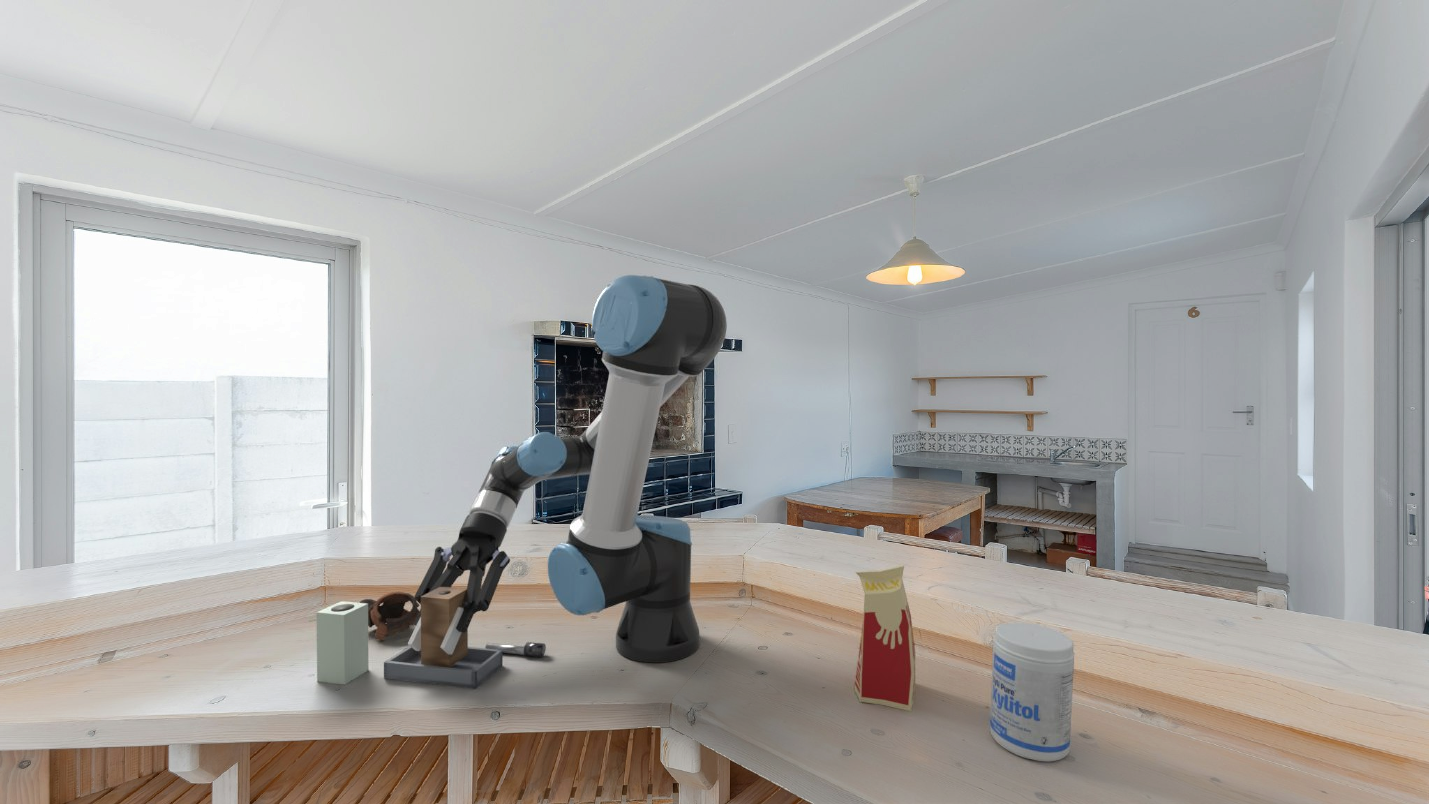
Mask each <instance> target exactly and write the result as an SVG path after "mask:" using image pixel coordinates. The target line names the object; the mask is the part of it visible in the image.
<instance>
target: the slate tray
mask: <svg viewBox="0 0 1429 804" xmlns="http://www.w3.org/2000/svg"><path fill="white" fill-rule="evenodd" d="M503 654H504V653H503V650H496V649H486V648H485V647H475V646H468V654H467V655H466V656H465V657H463V658H462V659H461V660H459V661H458V662H457V663H455V664H454V665H452V666H451V667H450V668H449V667H440V666H431V665H422V664H421V650H420V651H415V650H414V649H413V648H412V647H411V646H409V645H408V646H407V647H406V648H404V649H403V650H401V651H400V652H398V653H397V654H395V655H393V656H391V657H390V658H389V659H387V660H385V661H384V662H383V679H385V680H386V679H387V680H394V681H395V680H396V681H403V682H413V683H420V684H421V683H422V684H428V685H429V684H430V685H439V686H447V687H453V688H454V687H456V688H463V689H465V688H466V689H471V690H472V689H473V690H475V689H476V688H478V687H479V686H480V685H482V684H483V683H484V682H485V681H486V680H487V679H489V678H490V677H491V676H492V675H493V674H494V673H496V672H497V671H498V670H499V669H500V668H502V667H503V664H504V663H503Z"/></svg>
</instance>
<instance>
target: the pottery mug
mask: <svg viewBox="0 0 1429 804" xmlns="http://www.w3.org/2000/svg"><path fill="white" fill-rule="evenodd" d="M408 602H410V603H411V605H412V606H411V610H410V611H409V610H408V609H406V608H405V606H406V603H408ZM358 603H366V604H368V628H373V626H375V627H376V630H375V633H374V638H375V639H376V640H378V641H381V642H383V641H384V640H385V638H386V637H390V636H392V635H396V634H397V633H400V632H403V631H405V630H408V629H409V628H410V626H412V625H414V621H415V619H416V617H417V615H418V613H419V611H420V609H419V607H421V604H420V603H419V602H418V601H416V600H415V598H414V595H412V594H411V593H407V592H403V591H395V592H394V591H392V592H389V593H386V594H384V595H382V596H380V597H378V599H377V600H374V599H372V598H365V599H363V600H360V601H359V602H358Z"/></svg>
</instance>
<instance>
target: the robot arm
mask: <svg viewBox="0 0 1429 804" xmlns="http://www.w3.org/2000/svg"><path fill="white" fill-rule="evenodd" d="M594 305H595V306H594V308H593V312H592V316H591V330H592V332H593V333H594V335H593V338H594V341H595V343H596V345H597V346H598V347H599V348H600V350H601V351H602V356H601V361H602V363H603V364H604V366H605V367H606V368H607V369H606V370H608V373H609V374H608V380H607V384H606V388H605V389H606V390H605V394H604V401H603V405H602V410H601V412H600V413H598V415H597V416H596V417H595V419H594V420H593V421H592V422H591V423H590V424H589V425H588V427H587V428H586V429H585V430H584V431H583V432H582V433H581V434H580V435H578V436H569V437H559V436H558V435H556V434H554V433H551V432H549V431H542V432H538V433H536V434H534V435H532V436H530V437H529V438H526V439H525V440H524V441H523V442H522V443H521V444H519V445H518V446H517V445H511V446H504V447H502V448H501V449H500V450H499V451H498V452H497V454H496V456H495V457H494V458H493V460H492V462H491V464H490V468H489V469H488V472H487V474H486V476H485V478H484V480H483V482H482V485H480V489H479V491H478V493H477V495H476V496H475V499H474V500H473V502H472V505H471V507H470V508H469V510H468V515H467V516H466V517H465V519H464V521H463V523H462V525H461V527H460V530H459V534H458V537H457V540H455V542H454V543H453V544H452V545H451V547H447V548H443V547H442V546H437V547H436V548H435V549H434V556H433V559H432V562H431V564H430V565H429V567H428V569H427V572H425V573H426V574H425V575H424V577H423V579H422V581H421V583H420V585H419V587H418V588H417V591H416V593H415V594H414V595H413V597H414V598H415V600H416V601H417V603H418V604H419V605H421V596H423V595H425V594H427V593H429V592H431V591H433V590H435V589H437V588H439V587H452V586H453V584H454V583H455V582H456V580H457V579H458V578H459V577H461V576H462V575H463V574H464V572H465V571H469V576H468V582H467V586H466V589H467V591H466V596H465V601H464V604H463V603H462V605H463V606H464V607H465V608H464V609H463V608H461V607H458V609H457V611H456V613H455V615H454V618H453V620H452V622H451V624H450V627H449V629H448V631H447V633H446V635H445V638H444V640H443V642H442V644H441V647H440V648H442V649H443V650H444V651H445V652H446V653H447V654H451V655H452V654H453V652H454V649H455V647H456V644H457V642H458V640H459V637H460V635H461V633H462V632H466V630H467V629H468V628H469V627H470V624H471V622H472V619H473V617H474V615H475V614H476V613H477V612H483V613H484V612H486V611H487V610H488V609H489V607H490V605H491V602H492V600H493V597H494V595H495V592H496V590H497V587H498V584H499V582H500V580H501V577H502V574H503V572H504V570H505V569H506V568H507V566H508V565H509V564H510V563H511V558H510V557H509V556H508V554H507V553H506V552H505V550H501V551H499V549H500V547H501V545H502V543H503V541H504V539H505V537H506V534H507V532H508V529H507V528H509V527H510V524H511V522H512V521H513V517H514V514H515V512H516V510H517V508H518V505H519V503H520V501H521V499H522V496H523V494H524V492H525V491H526V490H528V489H530V488H532V487H533V486H535V485H536V484H537V483H539V482H542V481H545V480H553V479H560V478H567V477H574V476H575V477H576V476H582V475H589V477H588V482H587V488H586V494H585V499H584V502H583V503H584V505H583V509H582V510H583V511H582V514H581V515H579V516H577V517H576V518H574V519H573V520H572V521H571V523H570V525H569V531H568V537H567V540H566V542H559V543H558V544H557V545H555V547H553V548H552V549H551V550H550V552H549V554H548V559H547V575H548V580H549V584H550V587H551V589H552V591H553V595H554V596H555V598H556V600H557V601H558V602H559V604H560V605H561V606H562V607H563V608H564V609H565V611H567V612H569V613H570V614H572V615H575V616H587V615H591V614H593V613H595V614H596V613H601V612H603V611H604V610H606V609H608V608H610V607H614V606H617V605H620V604H622V603H625V605H624V608H623V610H622V614H621V617H620V620H619V621H618V622H619V623H618V627H617V629H616V633H615V649H616V652H618V654H620V655H621V656H623V657H625V658H628V659H630V660H633V661H637V662H641V663H642V662H643V663H644V662H645V663H665V662H673V661H676V660H680V659H684V658H686V657H688V656H690V655H693V654H694V653H695V652H696V651H697V650H698V649H699V647H700V628H699V626H698V623H697V619H696V616H695V612H694V610H693V606H692V603H691V602H692V601H691V580H692V579H691V575H692V572H691V571H692V570H691V569H692V567H691V566H692V565H691V564H692V560H691V559H692V545H693V544H692V540H691V537H692V536H691V527H690V525H689V524H688V523H687V522H686V521H685V520H681V519H679V518H675V517H668V516H661V515H658V516H657V515H646V514H645V515H642V514H641V515H638V512H639V508H640V503H641V499H642V494H643V490H644V486H645V485H644V484H645V479H646V475H647V470H648V467H649V461H650V457H651V452H652V447H653V441H654V438H655V433H656V429H657V424H658V423H657V422H658V419H659V413H660V410H661V407H662V406H663V405H664V404H665V403H666V402H667V400H668V399H669V398H670V397H671V396H672V395H673V394H674V393H675V392H676V391H677V390H678V389H679V388H680V387H681V386H682V385H683V384H684V383H685V382H686V381H687V379H689V377H697V376H700V374H701V373H703V371H704V370H705V369H706V368H708V366H709V365H710V364H711V363H712V361H714V359H715V357H716V356H717V355H718V354H719V352H720V350H721V348H722V347H723V344H724V342H725V339H726V335H727V328H728V324H727V322H728V321H727V317H726V312H725V310H724V308H723V307H724V306H723V305H722V303H721V302H720V300H719V299H718V298H717V297H716V296H715V295H714V294H713V293H712V292H711V291H709V290H708V289H706V288H705V287H702V286H699V285H694V284H687V283H682V282H678V281H672V280H668V279H661V278H658V277H654V276H653V275H652V276H648V275H636V274H635V275H634V274H627V275H623V276H620V277H618V278H615V279H614V280H613V281H612V282H611V283H610V284H608V285H607V286H606V287H605V288H603V290H602V291H601V293H600V294H599V296H598V298H597V300H596V303H595V304H594ZM488 564H490V566H489V567H488V570H487V572H486V568H487V565H488ZM485 573H486V575H485ZM484 577H485V578H484ZM483 578H484V580H483ZM413 625H415V627H414V629H413V632H412V634H411V636H410V638H409V639H408V642H407V645H408V647H409V646H411V647H412V648H413V649H414V650H415V651H420V650H421V608H420V609H419V613H418V615H417V617H416V619H415V621H414V623H413ZM468 630H469V629H468Z"/></svg>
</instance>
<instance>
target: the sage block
mask: <svg viewBox="0 0 1429 804" xmlns="http://www.w3.org/2000/svg"><path fill="white" fill-rule="evenodd" d="M315 613H316V682H318V683H319V682H320V683H326V682H327V684H334V685H335V684H336V685H343V684H345V685H347V684H349V682H352V681H353V680H355V679H357V678H358V677H360V676H361V675H363V674H364V672H365V673H366V672H368V671H369V668H370V667H369V626H368V604H366V603H359V602H353V601H345V600H344V601H342V600H341V601H338V602H337V603H335V604H332V605H329V606H328V607H325V608H324V609H321V610H319V611H316V612H315ZM367 670H368V671H367ZM359 675H360V676H359ZM351 680H352V681H351Z"/></svg>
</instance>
